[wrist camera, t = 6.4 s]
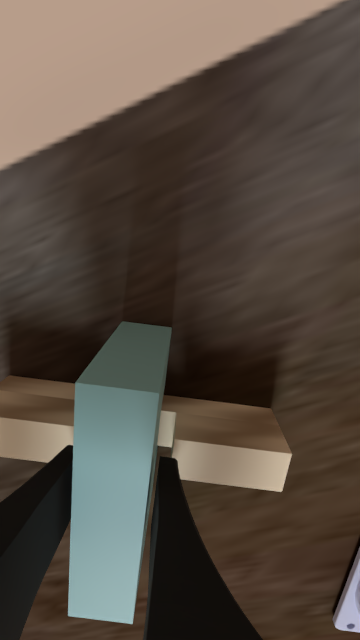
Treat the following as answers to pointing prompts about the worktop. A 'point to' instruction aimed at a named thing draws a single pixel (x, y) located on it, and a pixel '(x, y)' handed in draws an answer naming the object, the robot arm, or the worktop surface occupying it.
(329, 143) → the worktop surface
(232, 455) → the birch slotted rail
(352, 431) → the worktop surface
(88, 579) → the teal notched block
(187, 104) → the worktop surface
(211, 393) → the worktop surface
